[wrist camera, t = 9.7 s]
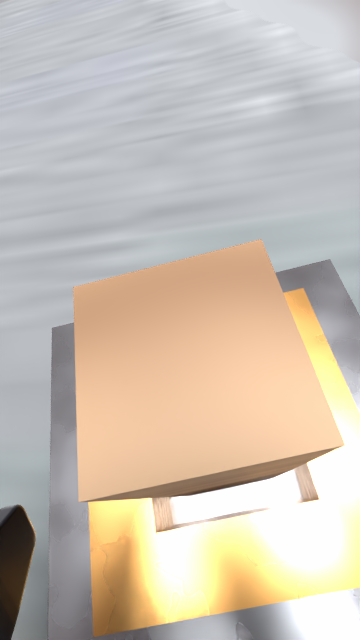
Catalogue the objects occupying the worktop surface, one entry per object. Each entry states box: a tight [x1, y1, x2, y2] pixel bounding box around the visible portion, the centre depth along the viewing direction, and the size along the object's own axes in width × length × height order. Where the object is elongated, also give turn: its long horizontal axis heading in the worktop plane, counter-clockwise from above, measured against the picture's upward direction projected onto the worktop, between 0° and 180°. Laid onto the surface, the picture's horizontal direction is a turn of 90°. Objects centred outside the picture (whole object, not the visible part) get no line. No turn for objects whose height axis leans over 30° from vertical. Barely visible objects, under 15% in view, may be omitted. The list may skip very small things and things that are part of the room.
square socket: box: [48, 259, 360, 640], centre depth 15 cm, size 18×18×5 cm
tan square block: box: [73, 239, 345, 502], centre depth 11 cm, size 4×4×12 cm
